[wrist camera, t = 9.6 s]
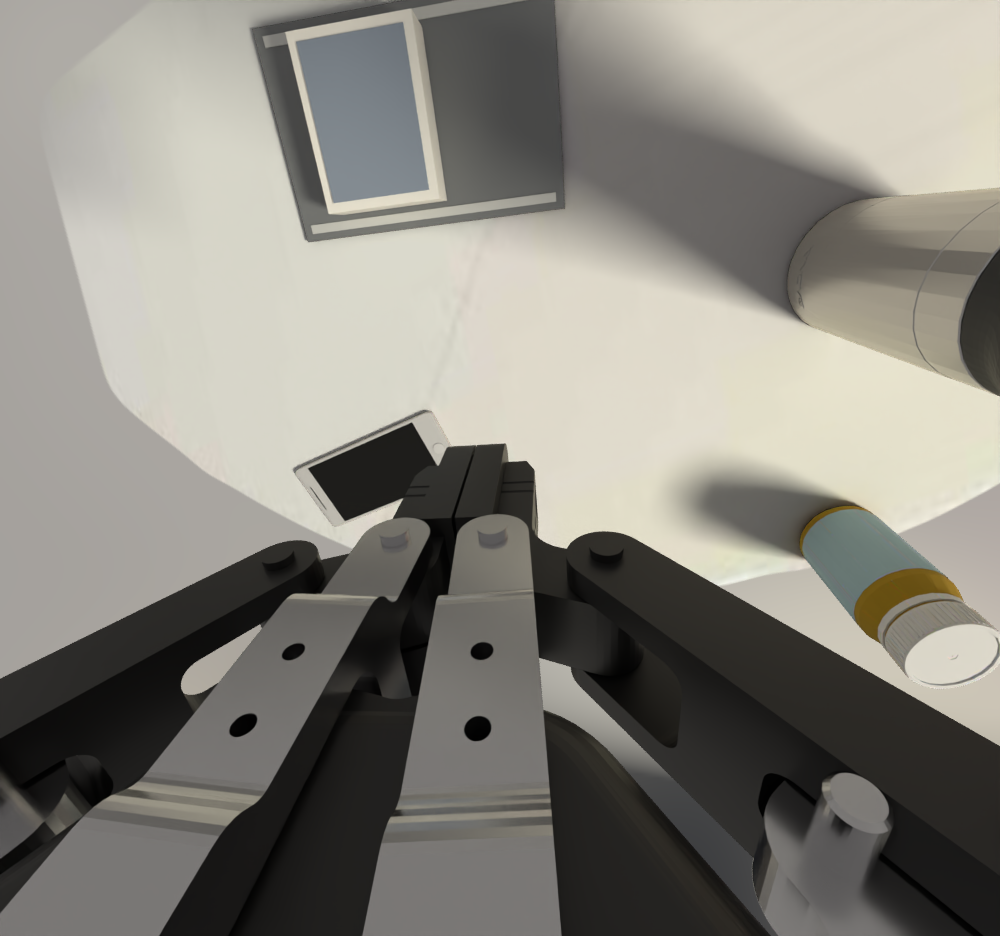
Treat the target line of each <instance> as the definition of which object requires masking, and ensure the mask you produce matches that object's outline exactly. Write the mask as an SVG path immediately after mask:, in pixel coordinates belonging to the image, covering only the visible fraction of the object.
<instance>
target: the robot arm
mask: <svg viewBox="0 0 1000 936" xmlns="http://www.w3.org/2000/svg"><path fill="white" fill-rule="evenodd" d="M787 290H788V295H789V300H790V303H791V305H792V307H793V309H794V311H795V313H796V314H797V315H798V316H799V317H800V318H801V319H802V321H804V322H805V323H807V324H809V325H810V326H812V327H814V328H817V329H819V330H822V331H825V332H827V333H830V334H833V335H835V336H838V337H840V338H843V339H845V340H848V341H851V342H853V343H856V344H859V345H861V346H864V347H867V348H869V349H872V350H875V351H878V352H880V353H883V354H886V355H888V356H891V357H894V358H896V359H899V360H902V361H905V362H907V363H910V364H913V365H915V366H918V367H921V368H923V369H926V370H929V371H932V372H934V373H937V374H940V375H942V376H945V377H948V378H950V379H954V380H957V381H959V382H962V383H965V384H968V385H970V386H973V387H976V388H978V389H981V390H984V391H986V392H989V393H992V394H995V395H997V396H1000V188H991V189H979V190H967V191H956V192H944V193H932V194H920V195H906V196H894V197H884V198H873V199H864V200H858V201H855V202H852V203H849V204H846V205H843V206H842V207H840V208H838V209H836V210H834V211H832V212H830V213H829V214H828V215H826V216H825V217H824V218H823V219H821V220H820V221H819V222H817V223H816V224H815V226H814V227H813V228H812V229H811V230H810V231H809V232H808V233H807V234H806V235H805V237H804V238H803V240H802V241H801V243H800V244H799V246H798V248H797V249H796V252H795V254H794V256H793V259H792V261H791V264H790V268H789V272H788V281H787ZM259 624H260V625H261V627H262V629H261V631H260V632H259V633H258V634H257V636H256V637H255V638H254V639H253V641H252V642H251V643H250V644H249V646H248V647H247V648H246V649H245V651H244V652H243V653H242V654H241V656H240V657H239V658H238V659H237V661H236V662H235V663H234V664H233V666H232V667H231V668H230V669H229V671H228V672H227V673H226V674H225V676H224V677H223V678H222V679H221V681H220V682H219V683H217V684H216V685H214V686H213V687H211V688H209V689H208V690H206V691H204V692H202V693H200V694H196V695H187V694H184V693H183V692H182V690H181V680H182V677H183V675H184V673H185V672H186V671H187V669H188V668H189V667H190V666H191V665H192V664H194V663H195V662H196V661H198V660H199V659H201V658H203V657H205V656H206V655H208V654H210V653H212V652H213V651H215V650H216V649H218V648H220V647H222V646H223V645H225V644H227V643H229V642H230V641H232V640H234V639H235V638H237V637H239V636H240V635H242V634H244V633H246V632H247V631H249V630H251V629H252V628H254V627H256V626H258V625H259ZM539 658H542V659H546V660H549V661H552V662H556V663H559V664H563V665H566V666H570V667H571V672H572V675H573V677H574V679H575V681H576V682H577V683H578V685H579V686H580V687H581V688H582V689H583V690H584V691H585V692H586V693H587V694H588V695H589V696H590V697H591V698H592V699H593V700H594V701H595V702H596V703H597V704H598V705H599V706H600V707H601V708H602V709H604V711H605V712H606V713H607V714H608V715H609V716H610V717H611V718H612V719H614V720H615V721H616V722H617V723H618V724H619V725H620V726H621V727H622V728H623V729H624V730H625V731H626V732H627V733H628V734H629V735H630V736H631V737H632V738H633V739H634V740H635V741H636V742H637V743H638V744H639V745H640V746H641V747H642V748H643V749H644V750H645V751H646V752H647V753H648V754H649V755H650V756H651V757H652V758H653V759H654V760H655V761H656V762H657V763H658V764H659V765H660V766H661V767H662V768H663V769H664V770H665V771H666V772H667V773H668V774H669V775H670V776H671V777H672V778H673V779H674V780H675V781H676V782H677V783H679V785H680V786H681V787H682V788H683V789H684V790H685V791H686V792H687V793H688V794H689V795H690V796H691V797H692V798H693V799H695V801H696V802H697V803H698V804H700V806H702V808H703V809H705V811H706V812H707V813H709V815H710V816H712V817H713V818H714V819H715V820H716V821H717V822H718V823H719V824H720V825H721V826H722V827H723V828H724V829H725V830H726V831H727V832H728V833H729V834H730V835H731V836H732V837H733V838H734V839H735V840H736V841H737V842H738V843H739V844H740V845H741V846H742V847H743V848H744V849H745V850H746V851H747V852H748V853H749V854H750V855H751V856H752V857H753V864H752V879H753V884H754V889H755V893H756V896H757V899H758V902H759V904H760V906H761V908H762V910H763V913H764V915H765V917H766V918H767V920H768V921H769V923H770V925H771V926H772V928H773V929H774V931H775V932H776V933H777V934H778V936H1000V746H999V745H997V744H995V743H993V742H991V741H990V740H988V739H986V738H985V737H983V736H981V735H979V734H977V733H975V732H974V731H972V730H970V729H969V728H967V727H965V726H963V725H962V724H960V723H958V722H956V721H955V720H953V719H951V718H949V717H948V716H946V715H944V714H942V713H941V712H939V711H937V710H935V709H933V708H932V707H930V706H928V705H926V704H925V703H923V702H921V701H919V700H917V699H916V698H914V697H912V696H911V695H909V694H907V693H905V692H903V691H902V690H900V689H898V688H896V687H895V686H893V685H891V684H889V683H888V682H886V681H884V680H882V679H881V678H879V677H877V676H875V675H874V674H872V673H870V672H868V671H867V670H865V669H863V668H861V667H860V666H857V665H856V664H854V663H852V662H851V661H849V660H847V659H845V658H844V657H842V656H840V655H838V654H837V653H834V652H833V651H831V650H829V649H828V648H826V647H824V646H823V645H821V644H819V643H817V642H815V641H814V640H812V639H810V638H808V637H807V636H805V635H803V634H801V633H800V632H798V631H796V630H794V629H792V628H791V627H789V626H787V625H786V624H783V623H782V622H780V621H778V620H777V619H775V618H773V617H771V616H770V615H768V614H766V613H764V612H763V611H761V610H759V609H757V608H756V607H754V606H752V605H750V604H749V603H747V602H745V601H743V600H741V599H740V598H738V597H736V596H734V595H733V594H731V593H729V592H727V591H726V590H724V589H722V588H720V587H719V586H717V585H715V584H713V583H712V582H710V581H708V580H706V579H705V578H703V577H701V576H699V575H697V574H696V573H694V572H692V571H690V570H689V569H687V568H685V567H683V566H682V565H680V564H678V563H676V562H675V561H673V560H671V559H669V558H668V557H666V556H664V555H662V554H660V553H659V552H657V551H655V550H653V549H652V548H650V547H648V546H646V545H645V544H643V543H641V542H639V541H638V540H636V539H634V538H632V537H630V536H627V535H624V534H621V533H616V532H605V531H603V532H593V533H588V534H585V535H582V536H580V537H578V538H576V539H575V540H574V541H572V542H571V543H570V545H569V546H568V548H567V549H564V548H560V547H555V546H552V545H549V544H547V543H545V542H543V541H542V540H540V539H539V538H538V514H537V499H536V485H535V471H534V469H533V468H532V467H531V466H530V464H529V463H528V462H527V461H519V462H508V452H507V446H506V444H489V445H477V447H476V445H471V446H453V447H447V448H446V450H445V453H444V455H443V457H442V459H441V462H440V464H439V466H427V467H426V468H425V469H423V470H422V471H421V472H419V473H418V474H417V475H416V476H415V477H414V479H413V481H412V483H411V485H410V488H409V489H408V491H407V492H406V494H405V497H404V498H403V500H402V502H401V504H400V506H399V508H398V510H397V512H396V514H395V515H394V517H393V519H391V520H387V521H384V522H382V523H379V524H377V525H375V526H373V527H372V528H370V529H369V530H368V531H366V532H365V533H364V535H363V536H362V537H361V538H360V540H359V541H358V543H357V544H356V545H355V547H354V548H353V550H352V551H351V552H350V553H349V554H345V555H341V556H337V557H332V558H328V559H323V560H321V559H320V556H319V553H318V549H317V547H316V546H315V545H314V544H312V543H311V542H307V541H301V540H300V541H298V540H296V541H287V542H282V543H279V544H275V545H273V546H270V547H268V548H266V549H263V550H261V551H259V552H257V553H255V554H253V555H251V556H249V557H247V558H245V559H243V560H241V561H239V562H237V563H235V564H233V565H231V566H229V567H227V568H225V569H223V570H221V571H218V572H216V573H214V574H212V575H210V576H209V577H206V578H204V579H202V580H200V581H198V582H196V583H194V584H192V585H190V586H188V587H186V588H184V589H182V590H180V591H178V592H176V593H174V594H172V595H170V596H168V597H166V598H164V599H161V600H160V601H157V602H155V603H153V604H151V605H149V606H147V607H145V608H143V609H141V610H139V611H137V612H135V613H133V614H131V615H129V616H127V617H125V618H123V619H121V620H119V621H117V622H115V623H113V624H111V625H109V626H107V627H105V628H102V629H100V630H98V631H96V632H94V633H92V634H90V635H88V636H86V637H84V638H82V639H80V640H78V641H76V642H74V643H72V644H70V645H68V646H66V647H64V648H62V649H60V650H58V651H56V652H54V653H52V654H50V655H48V656H46V657H43V658H41V659H39V660H37V661H35V662H33V663H31V664H29V665H28V666H25V667H23V668H21V669H19V670H17V671H15V672H13V673H11V674H9V675H7V676H5V677H3V678H1V679H0V936H770V934H769V933H768V932H767V931H766V930H765V929H764V928H763V926H762V925H761V924H760V923H759V922H758V921H757V920H756V918H755V917H754V916H753V915H752V914H751V913H750V912H749V911H748V909H747V908H746V907H745V906H744V905H743V903H742V902H741V901H740V900H739V899H738V898H737V897H736V895H735V894H734V893H733V892H732V891H731V890H730V889H729V887H728V886H727V885H726V884H725V883H724V882H723V881H722V880H721V878H719V876H718V875H717V874H716V873H715V871H714V870H713V869H712V868H711V867H710V866H709V865H708V863H707V862H706V861H705V860H704V859H703V858H702V857H701V856H700V854H699V853H698V852H697V851H696V850H695V849H694V847H693V846H692V845H691V844H690V843H689V842H688V841H687V840H686V838H685V837H684V836H683V835H682V834H681V833H680V831H678V829H677V828H676V827H675V826H674V825H673V823H672V822H671V821H670V820H669V819H668V818H667V817H666V816H665V814H664V813H663V812H662V811H661V810H660V809H659V807H658V806H657V805H656V804H655V803H654V802H653V801H652V799H651V798H650V797H649V796H648V795H647V794H646V793H645V791H644V790H643V789H642V788H641V787H640V786H639V785H638V783H637V782H636V781H635V780H634V779H633V778H632V777H631V775H630V774H629V773H628V772H627V771H626V770H625V769H624V768H623V766H622V765H621V764H620V763H619V762H618V761H617V759H616V758H615V757H614V756H613V755H612V754H611V753H610V752H609V751H608V750H607V749H606V748H605V747H604V746H603V745H602V744H600V742H598V741H597V740H596V739H595V738H594V737H593V736H591V735H590V734H589V733H587V732H586V731H584V730H583V729H581V728H580V727H578V726H577V725H576V724H574V723H572V722H570V721H568V720H566V719H565V718H562V717H561V716H558V715H556V714H553V713H551V712H548V711H545V710H543V701H542V689H541V677H540V665H539Z"/></svg>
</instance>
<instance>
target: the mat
mask: <svg viewBox="0 0 1000 936" xmlns="http://www.w3.org/2000/svg"><path fill="white" fill-rule="evenodd" d="M410 8H411V9H412V11H413V12H414V14H415V16H416V17H417V19H418V21H419V22H420V24H421V26H422V30H423V37H424V44H425V51H426V58H427V64H428V71H429V78H430V85H431V92H432V99H433V106H434V113H435V120H436V127H437V134H438V141H439V148H440V155H441V162H442V169H443V176H444V183H445V190H446V197H447V201H441V202H434V203H427V204H420V205H412V206H405V207H398V208H391V209H383V210H376V211H369V212H362V213H354V214H347V215H337V214H328V209H327V205H326V201H325V197H324V193H323V188H322V184H321V180H320V176H319V172H318V167H317V163H316V159H315V155H314V151H313V147H312V142H311V138H310V134H309V130H308V126H307V121H306V117H305V113H304V109H303V105H302V101H301V96H300V92H299V88H298V84H297V80H296V75H295V71H294V67H293V63H292V59H291V54H290V50H289V46H288V42H287V38H286V34H285V32H287V31H293V30H298V29H303V28H309V27H314V26H319V25H325V24H330V23H335V22H341V21H346V20H351V19H357V18H362V17H367V16H373V15H378V14H383V13H389V12H394V11H399V10H405V9H410ZM253 33H254V37H255V41H256V45H257V48H258V52H259V56H260V60H261V64H262V68H263V71H264V75H265V79H266V83H267V87H268V91H269V94H270V98H271V102H272V106H273V110H274V114H275V117H276V121H277V125H278V129H279V133H280V137H281V140H282V144H283V148H284V152H285V156H286V160H287V163H288V167H289V171H290V175H291V179H292V183H293V186H294V190H295V194H296V198H297V202H298V206H299V209H300V213H301V217H302V221H303V225H304V229H305V232H306V236H307V240H308V242H314V241H321V240H329V239H337V238H344V237H352V236H359V235H367V234H374V233H382V232H390V231H397V230H405V229H412V228H420V227H427V226H435V225H442V224H450V223H458V222H465V221H473V220H480V219H488V218H495V217H503V216H510V215H518V214H526V213H533V212H541V211H548V210H556V209H563V208H565V202H564V182H563V162H562V143H561V123H560V103H559V84H558V64H557V44H556V25H555V5H554V0H403V1H397V2H392V3H387V4H382V5H376V6H371V7H366V8H360V9H355V10H350V11H345V12H339V13H334V14H329V15H324V16H318V17H313V18H308V19H303V20H297V21H292V22H287V23H281V24H276V25H271V26H266V27H260V28H255V29H253Z"/></svg>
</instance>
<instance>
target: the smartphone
mask: <svg viewBox="0 0 1000 936" xmlns="http://www.w3.org/2000/svg"><path fill="white" fill-rule="evenodd" d="M447 447H452V446H451V444H450V443H449V441H448V439H447V437H446V435H445V434H444V432H443V430H442V428H441V426H440V424H439V423H438V421H437V419H436V417H435V415H434V414H433V412H432V411H427V412H424V413H422V414H419V415H417V416H415V417H413V418H410V419H408V420H406V421H404V422H401V423H399V424H397V425H395V426H392V427H390V428H388V429H386V430H383V431H381V432H379V433H377V434H374V435H372V436H370V437H368V438H365V439H363V440H361V441H359V442H356V443H354V444H352V445H350V446H347V447H345V448H343V449H341V450H338V451H336V452H334V453H332V454H329V455H327V456H325V457H322V458H320V459H318V460H316V461H313V462H311V463H309V464H307V465H304V466H302V467H300V468H299V469H298V470H297V471H296V472H295V474H296V476H297V477H298V478H299V480H300V481H301V483H302V484H303V485H304V487H305V488H306V490H307V491H308V492H309V494H310V495H311V496H312V498H313V499H314V501H315V502H316V503H317V505H318V506H319V508H320V509H321V510H322V512H323V513H324V515H325V516H326V517H327V519H328V520H329V522H330V523H331V524H332V526H335V527H336V526H340V525H343V524H345V523H348V522H350V521H353V520H355V519H358V518H361V517H363V516H366V515H368V514H371V513H373V512H376V511H378V510H381V509H383V508H386V507H388V506H391V505H393V504H396V503H398V502H401V501H402V500H403V498H404V497H405V494H406V492H407V491H408V489H409V488H410V485H411V483H412V481H413V479H414V477H415V476H416V475H417V474H418V473H419V472H421V471H422V470H423V469H425V468H426V467H427V466H439V464H440V462H441V459H442V457H443V455H444V453H445V450H446V448H447Z"/></svg>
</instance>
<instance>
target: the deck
mask: <svg viewBox="0 0 1000 936" xmlns="http://www.w3.org/2000/svg"><path fill="white" fill-rule="evenodd" d="M285 34H286V38H287V42H288V46H289V50H290V54H291V59H292V63H293V67H294V71H295V75H296V80H297V84H298V88H299V92H300V96H301V101H302V105H303V109H304V113H305V117H306V121H307V126H308V130H309V134H310V138H311V142H312V147H313V151H314V155H315V159H316V163H317V167H318V172H319V176H320V180H321V184H322V188H323V193H324V197H325V201H326V205H327V209H328V214H337V215H347V214H354V213H362V212H369V211H376V210H383V209H391V208H398V207H405V206H412V205H420V204H427V203H434V202H441V201H447V197H446V190H445V183H444V176H443V169H442V162H441V155H440V148H439V141H438V134H437V127H436V120H435V113H434V106H433V99H432V92H431V85H430V78H429V71H428V64H427V58H426V51H425V44H424V37H423V30H422V26H421V24H420V22H419V21H418V19H417V17H416V16H415V14H414V12H413V11H412V9H411V8H410V9H405V10H399V11H394V12H389V13H383V14H378V15H373V16H367V17H362V18H357V19H351V20H346V21H341V22H335V23H330V24H325V25H319V26H314V27H309V28H303V29H298V30H293V31H287V32H285Z"/></svg>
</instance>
